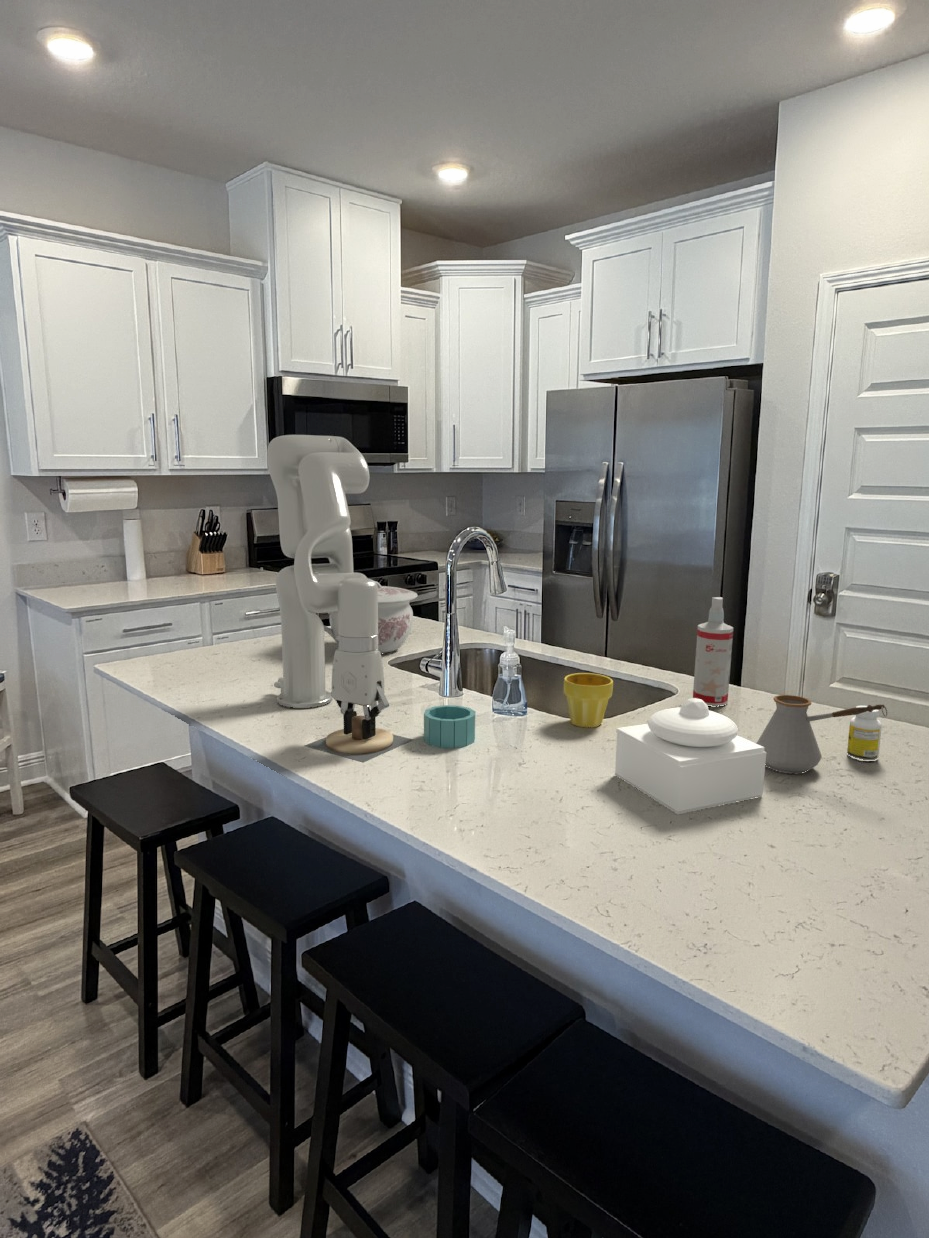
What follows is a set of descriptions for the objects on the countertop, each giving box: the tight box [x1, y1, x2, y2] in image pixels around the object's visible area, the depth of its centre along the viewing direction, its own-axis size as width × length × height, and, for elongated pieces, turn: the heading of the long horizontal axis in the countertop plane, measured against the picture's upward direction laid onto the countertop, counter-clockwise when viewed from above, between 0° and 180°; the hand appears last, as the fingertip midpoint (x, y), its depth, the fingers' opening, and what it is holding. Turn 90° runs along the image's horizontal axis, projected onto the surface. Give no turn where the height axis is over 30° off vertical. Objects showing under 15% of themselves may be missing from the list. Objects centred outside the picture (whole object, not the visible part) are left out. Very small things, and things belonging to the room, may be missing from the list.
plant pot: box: [563, 672, 614, 728], centre depth 169 cm, size 10×10×10 cm
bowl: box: [423, 704, 476, 749], centre depth 157 cm, size 10×10×6 cm
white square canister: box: [614, 697, 766, 815], centre depth 136 cm, size 18×18×16 cm
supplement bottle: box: [846, 705, 883, 760], centre depth 151 cm, size 5×5×10 cm
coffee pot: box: [756, 694, 888, 774], centre depth 142 cm, size 21×12×15 cm, turn 49°
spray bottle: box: [692, 596, 734, 706], centre depth 184 cm, size 8×8×25 cm
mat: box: [303, 733, 414, 763], centre depth 155 cm, size 15×15×1 cm
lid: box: [325, 715, 394, 754], centre depth 154 cm, size 13×13×5 cm
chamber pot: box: [324, 580, 419, 655], centre depth 234 cm, size 28×28×21 cm
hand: (359, 734), depth 154 cm, fingers open, 4 cm apart
